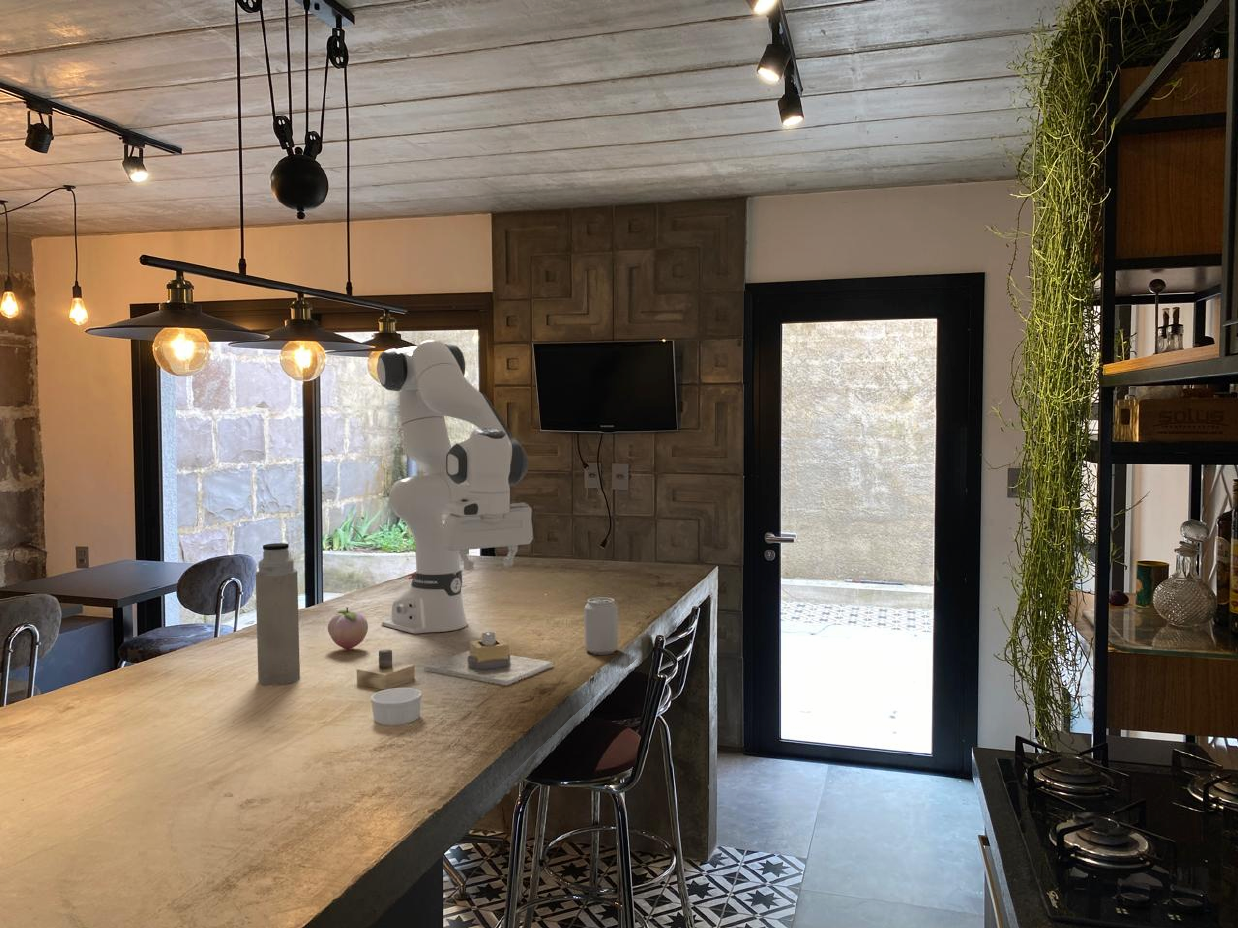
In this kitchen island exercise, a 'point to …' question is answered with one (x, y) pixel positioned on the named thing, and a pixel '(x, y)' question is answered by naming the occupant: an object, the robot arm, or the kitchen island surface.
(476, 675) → the stone base with peg
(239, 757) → the kitchen island surface
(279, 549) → the thermos bottle
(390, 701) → the ramekin
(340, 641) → the decorative fruit
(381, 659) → the stand
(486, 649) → the tan square hollow frame
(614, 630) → the can
